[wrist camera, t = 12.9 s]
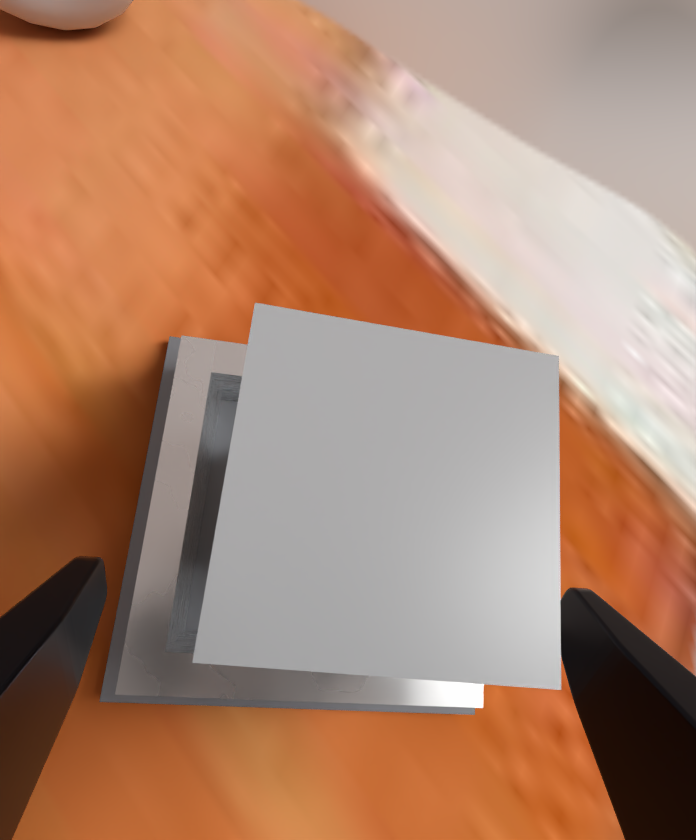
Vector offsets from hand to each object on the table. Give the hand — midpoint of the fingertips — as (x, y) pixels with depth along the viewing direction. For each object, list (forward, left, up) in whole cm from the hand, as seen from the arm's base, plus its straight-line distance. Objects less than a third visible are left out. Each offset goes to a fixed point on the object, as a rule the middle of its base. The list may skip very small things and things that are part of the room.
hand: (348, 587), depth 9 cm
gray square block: (+1, +1, -10) cm, 10 cm away
